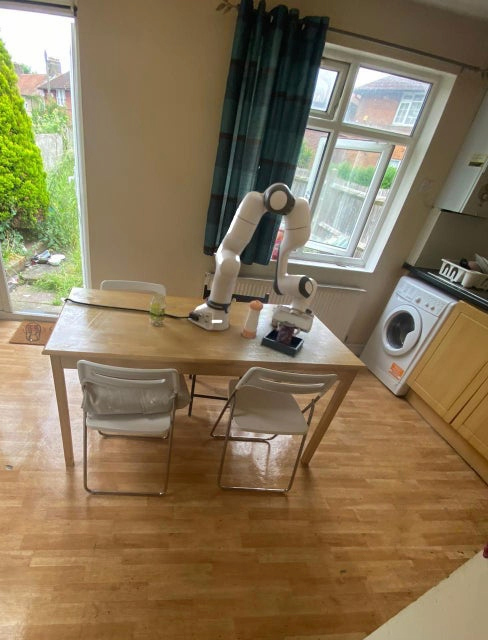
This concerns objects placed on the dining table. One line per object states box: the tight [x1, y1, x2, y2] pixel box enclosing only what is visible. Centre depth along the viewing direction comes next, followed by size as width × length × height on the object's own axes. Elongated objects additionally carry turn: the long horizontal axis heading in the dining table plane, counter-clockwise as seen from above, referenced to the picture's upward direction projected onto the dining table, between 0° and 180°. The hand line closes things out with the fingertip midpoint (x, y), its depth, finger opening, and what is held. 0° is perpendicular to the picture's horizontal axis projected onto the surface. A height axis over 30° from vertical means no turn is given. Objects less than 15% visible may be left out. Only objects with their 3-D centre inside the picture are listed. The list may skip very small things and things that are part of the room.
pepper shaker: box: [241, 299, 264, 339], centre depth 170 cm, size 7×7×19 cm
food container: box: [270, 306, 282, 329], centre depth 184 cm, size 12×6×10 cm, turn 62°
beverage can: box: [276, 321, 296, 346], centre depth 167 cm, size 7×7×12 cm
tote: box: [260, 327, 306, 358], centre depth 170 cm, size 18×15×4 cm
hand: (285, 334), depth 166 cm, fingers closed on beverage can, 7 cm apart
